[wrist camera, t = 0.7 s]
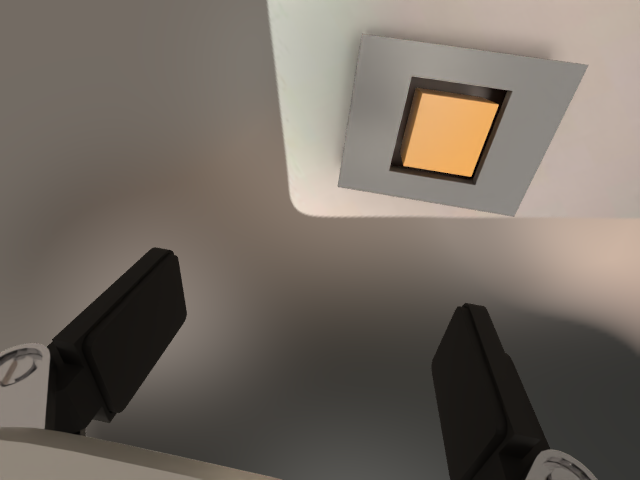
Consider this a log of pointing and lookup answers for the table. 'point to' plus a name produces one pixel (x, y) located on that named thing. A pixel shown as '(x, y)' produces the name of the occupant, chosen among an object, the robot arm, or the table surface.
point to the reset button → (446, 131)
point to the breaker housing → (466, 68)
